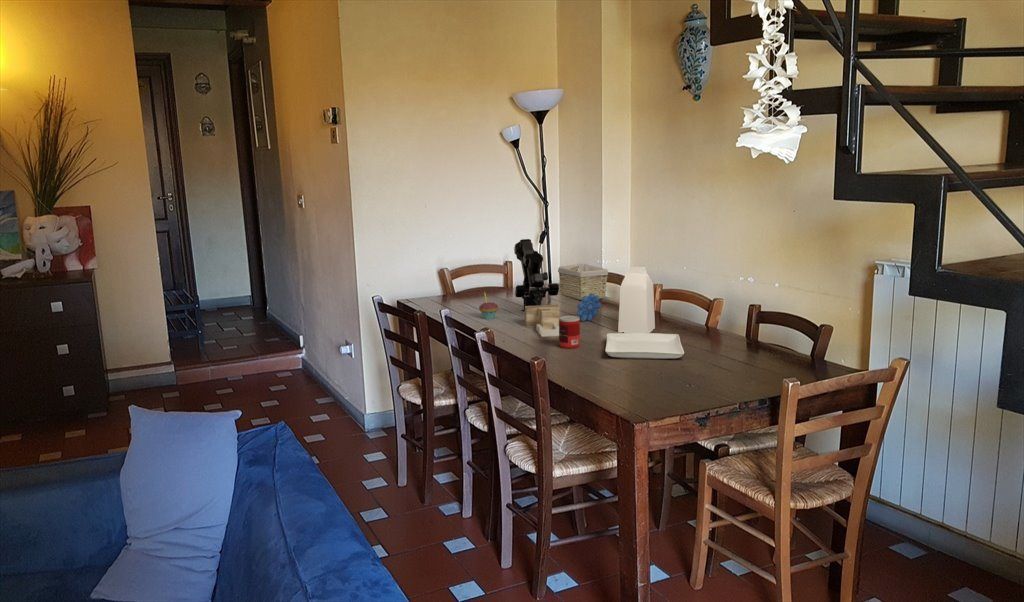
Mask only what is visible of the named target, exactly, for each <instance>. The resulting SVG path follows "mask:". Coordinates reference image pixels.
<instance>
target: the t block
mask: <svg viewBox="0 0 1024 602" xmlns="http://www.w3.org/2000/svg"><path fill="white" fill-rule="evenodd" d="M560 317H561V316H560V305H559V304H545V305H542V304H541V305H540V306H525V311H524V323H525V324H524V325H525V326H526V327H527V326H528V327H527V328H530V327H531V326H534V327H536V324H540V325H541V326H542V327H543V329H544V330H550V329H553V325H552V323H556V324H557V325H558V326H559V318H560ZM529 326H530V327H529Z"/></svg>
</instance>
